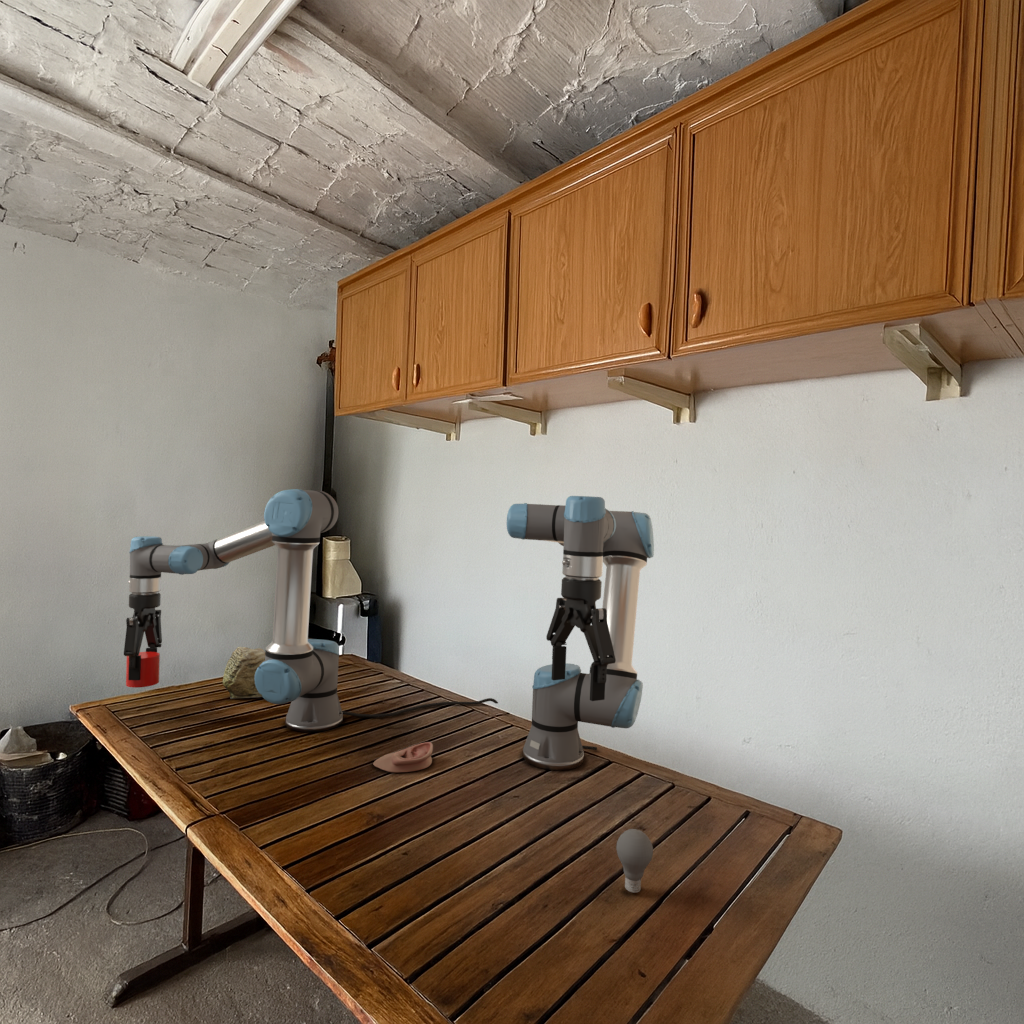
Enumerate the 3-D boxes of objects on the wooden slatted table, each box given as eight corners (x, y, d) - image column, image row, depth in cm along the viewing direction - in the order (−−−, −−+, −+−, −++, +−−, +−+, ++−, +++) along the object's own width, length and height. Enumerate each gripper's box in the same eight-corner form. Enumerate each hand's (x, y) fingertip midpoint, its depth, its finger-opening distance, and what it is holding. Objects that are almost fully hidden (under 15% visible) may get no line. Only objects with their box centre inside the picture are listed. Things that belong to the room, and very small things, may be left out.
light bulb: (610, 879, 108) (613, 822, 108) (644, 879, 109) (647, 822, 109) (619, 902, 102) (622, 840, 102) (655, 901, 103) (658, 840, 103)
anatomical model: (368, 752, 148) (387, 734, 159) (367, 769, 148) (386, 750, 159) (422, 759, 145) (438, 741, 156) (421, 776, 145) (437, 757, 156)
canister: (119, 687, 170) (120, 658, 170) (135, 679, 178) (135, 651, 177) (150, 687, 170) (151, 658, 170) (164, 679, 178) (164, 651, 178)
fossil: (218, 695, 195) (220, 647, 195) (278, 685, 208) (279, 640, 207) (228, 703, 189) (230, 653, 188) (289, 692, 201) (290, 645, 201)
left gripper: (150, 587, 184) (148, 665, 184) (108, 598, 163) (106, 686, 163) (177, 587, 184) (175, 665, 185) (138, 599, 163) (136, 686, 164)
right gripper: (532, 569, 129) (528, 673, 130) (603, 587, 107) (597, 712, 107) (564, 569, 133) (559, 670, 133) (639, 586, 110) (633, 707, 111)
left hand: (142, 675), depth 174 cm, fingers closed on canister, 8 cm apart
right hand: (576, 689), depth 120 cm, fingers open, 13 cm apart
